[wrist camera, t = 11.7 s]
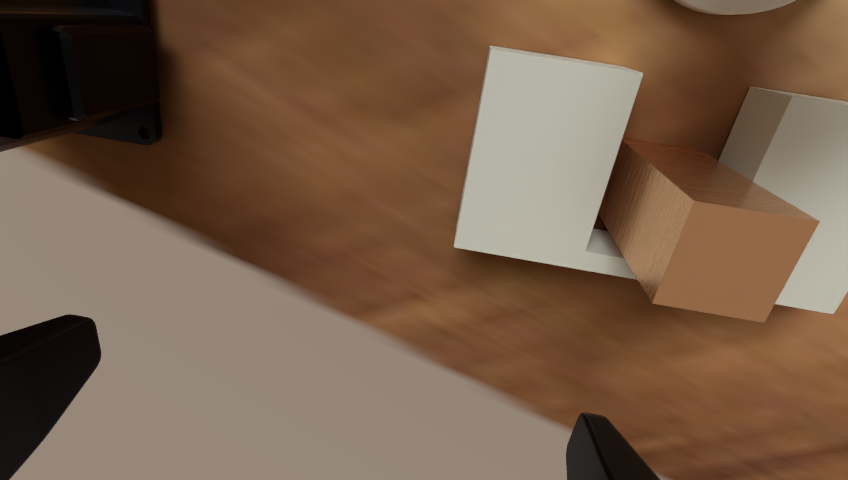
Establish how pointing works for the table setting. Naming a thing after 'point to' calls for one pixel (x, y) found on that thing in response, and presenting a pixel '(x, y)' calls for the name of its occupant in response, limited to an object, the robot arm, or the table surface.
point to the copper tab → (701, 231)
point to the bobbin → (732, 6)
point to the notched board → (595, 155)
